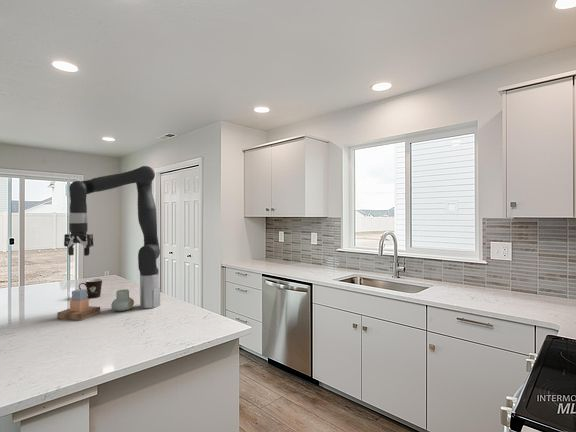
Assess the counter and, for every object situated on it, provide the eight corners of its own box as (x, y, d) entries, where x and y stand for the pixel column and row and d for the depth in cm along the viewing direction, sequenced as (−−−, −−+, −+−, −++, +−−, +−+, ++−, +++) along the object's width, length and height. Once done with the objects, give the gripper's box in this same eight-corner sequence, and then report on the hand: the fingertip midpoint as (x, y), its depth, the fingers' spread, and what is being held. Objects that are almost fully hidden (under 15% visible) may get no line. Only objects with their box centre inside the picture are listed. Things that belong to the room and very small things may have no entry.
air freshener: (125, 312, 165) (125, 293, 165) (109, 312, 165) (109, 293, 165) (135, 306, 176) (135, 288, 176) (120, 306, 176) (120, 288, 176)
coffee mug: (105, 295, 201) (105, 279, 200) (95, 298, 192) (95, 281, 192) (87, 294, 202) (87, 278, 202) (77, 298, 193) (77, 281, 193)
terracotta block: (88, 308, 163) (88, 298, 163) (79, 311, 157) (79, 301, 157) (79, 307, 164) (78, 297, 164) (69, 311, 158) (69, 300, 158)
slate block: (87, 298, 162) (87, 289, 162) (80, 300, 158) (80, 291, 158) (79, 298, 163) (78, 289, 163) (71, 300, 159) (71, 291, 158)
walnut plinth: (100, 312, 165) (100, 306, 165) (81, 320, 153) (81, 314, 153) (77, 311, 168) (77, 305, 167) (57, 318, 156) (57, 312, 156)
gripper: (97, 222, 162) (97, 254, 163) (72, 222, 165) (72, 254, 165) (85, 222, 155) (85, 256, 155) (59, 222, 158) (59, 256, 158)
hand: (78, 255), depth 160 cm, fingers open, 8 cm apart
